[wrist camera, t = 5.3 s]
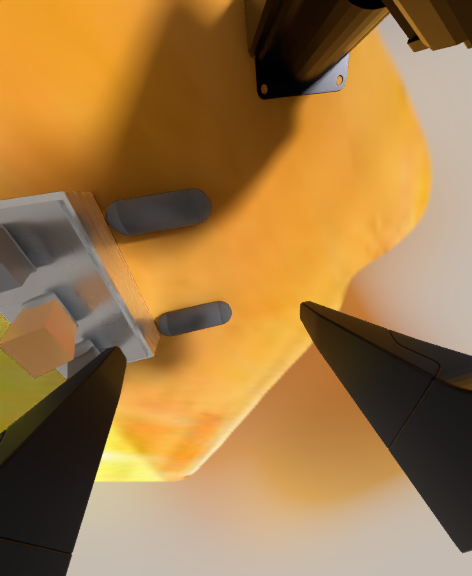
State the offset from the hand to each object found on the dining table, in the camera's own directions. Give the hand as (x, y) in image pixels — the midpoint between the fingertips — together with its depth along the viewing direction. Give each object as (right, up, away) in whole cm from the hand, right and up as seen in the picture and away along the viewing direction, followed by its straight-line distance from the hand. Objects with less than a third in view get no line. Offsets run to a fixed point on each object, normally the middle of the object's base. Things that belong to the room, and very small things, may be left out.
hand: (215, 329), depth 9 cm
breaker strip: (-12, +2, +7) cm, 14 cm away
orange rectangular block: (-12, 0, +3) cm, 12 cm away
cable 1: (-5, +8, +5) cm, 11 cm away
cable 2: (-3, -1, +10) cm, 11 cm away
